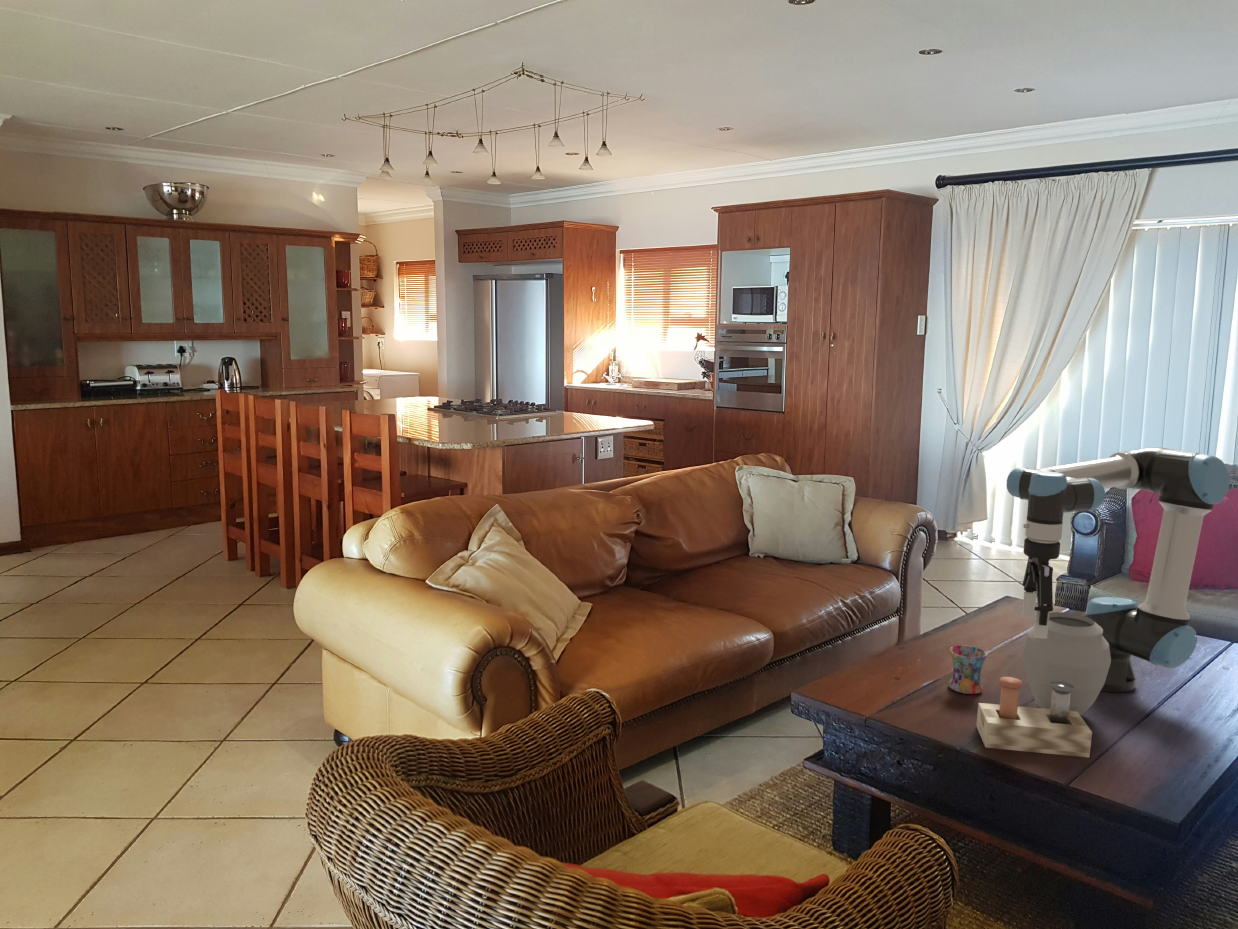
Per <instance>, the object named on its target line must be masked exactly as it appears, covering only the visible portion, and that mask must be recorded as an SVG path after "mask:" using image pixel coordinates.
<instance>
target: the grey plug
mask: <svg viewBox="0 0 1238 929" xmlns="http://www.w3.org/2000/svg"><path fill="white" fill-rule="evenodd" d="M1050 687H1051V688H1052V699H1051V710H1050V721H1051V722H1052V723H1059V724H1068V716H1069V707H1070V697H1071V692H1073V691H1074V686H1073V685H1072V684H1069V683H1067V682H1062V681H1053V682H1051V685H1050Z"/></svg>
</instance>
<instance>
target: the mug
mask: <svg viewBox="0 0 1238 929" xmlns="http://www.w3.org/2000/svg"><path fill="white" fill-rule="evenodd" d="M948 650H949V653H950V655H951V660H952V665H953V666H952V673H951V674H952V675H951V677H950V680H949V682H948V684H947V685H948V686H949V688H950V689H951V690H953V691H955V692H957V693H961V694H965V695H976V694H980V693H981V692H982V691H983V690H984V688H983V685H982V681H981V671H982V667H983V664H984V662H985V661H986V658H987V657H988V653H987V651H985V649H982V648H980V647H977V646H973V645H966V644H962V645H961V644H958V645H957V644H956V645H953V646H951V647H949V649H948Z"/></svg>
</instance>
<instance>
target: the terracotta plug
mask: <svg viewBox="0 0 1238 929" xmlns="http://www.w3.org/2000/svg"><path fill="white" fill-rule="evenodd" d="M999 685H1000V687H1001V688H1000V698H999V705H1000V709H999V717H1001V718H1004V719H1015V720H1016V719H1017V710H1018V706H1019V697H1020V688H1022V687H1023V681H1022V680H1021V679H1019V678H1016V677H1012V676H1002V677H1000V678H999Z"/></svg>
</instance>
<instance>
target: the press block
mask: <svg viewBox="0 0 1238 929" xmlns="http://www.w3.org/2000/svg"><path fill="white" fill-rule="evenodd" d="M999 709H1000V704H996V703H986V702H985V703H984V702H983V703H982V702H978V704H977V714H976V715H977V716H976V729H977V731H978V733H979V736H980V737H981V740H982V742H983V743H982V744H983V745H984V747H985V748H988V749H996V750H1009V751H1017V752H1018V751H1019V752H1028V753H1039V754H1040V753H1041V754H1048V755H1049V754H1050V755H1056V756H1057V755H1059V756H1069V757H1078V758H1079V757H1080V758H1090V755H1091V746H1092V736H1093V732H1092V730H1091V729H1090V727H1089V726H1088V725H1087V723H1086V722H1085V720H1084V718H1083V717H1082V715H1081V716H1080V714H1079V713H1078V712H1076V711H1069V716H1068V724H1059V723H1052V722H1051V721H1050V710H1051V709H1043V708H1040V707H1029V706H1021V705H1020V706H1019V705H1018V710H1017V719H1016V720H1015V719H1004V718H1001V717H999Z"/></svg>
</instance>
